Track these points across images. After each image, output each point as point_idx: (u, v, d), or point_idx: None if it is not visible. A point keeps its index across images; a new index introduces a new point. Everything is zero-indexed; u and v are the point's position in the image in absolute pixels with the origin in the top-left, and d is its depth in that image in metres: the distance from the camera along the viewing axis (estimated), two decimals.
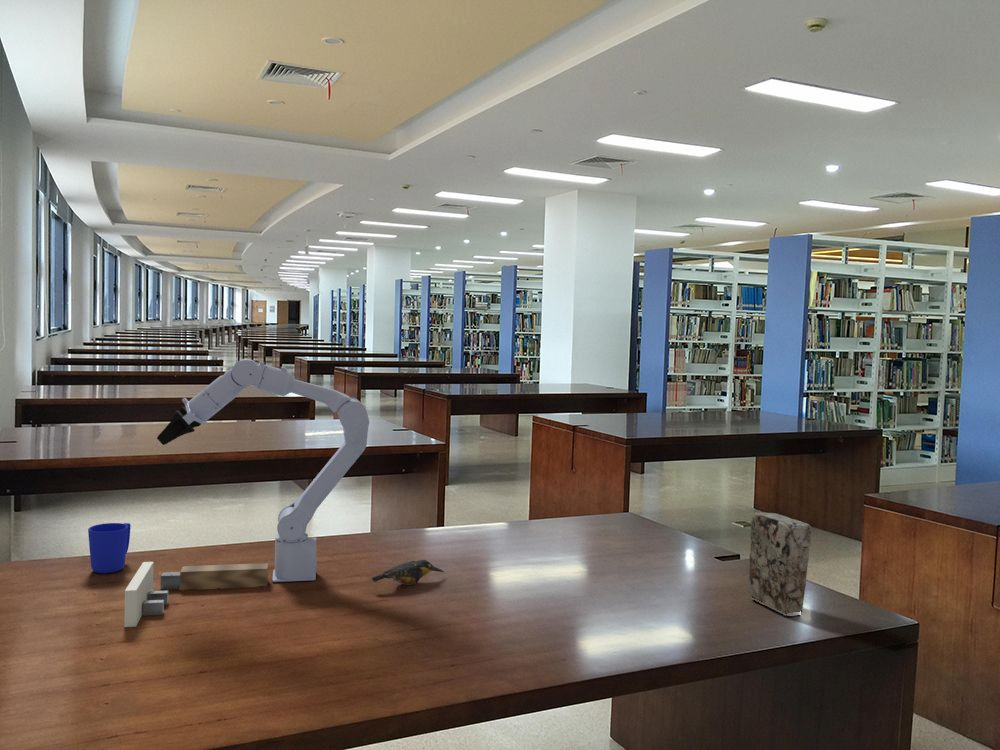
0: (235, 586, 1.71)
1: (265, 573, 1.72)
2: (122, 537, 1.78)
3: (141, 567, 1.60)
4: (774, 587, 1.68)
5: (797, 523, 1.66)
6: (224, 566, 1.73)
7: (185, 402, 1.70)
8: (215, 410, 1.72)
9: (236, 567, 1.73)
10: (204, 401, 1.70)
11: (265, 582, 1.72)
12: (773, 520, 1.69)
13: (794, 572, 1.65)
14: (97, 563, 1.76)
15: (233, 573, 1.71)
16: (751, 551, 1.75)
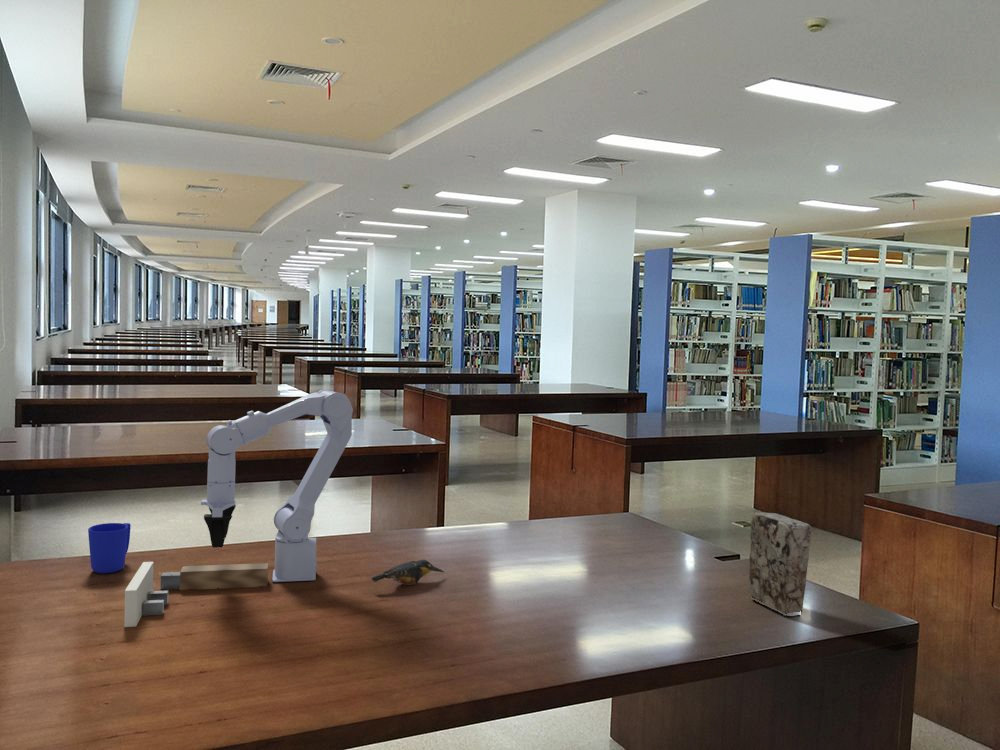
0: (235, 586, 1.71)
1: (265, 573, 1.72)
2: (122, 537, 1.78)
3: (141, 567, 1.60)
4: (774, 587, 1.68)
5: (797, 523, 1.66)
6: (224, 566, 1.73)
7: (205, 503, 1.69)
8: (231, 487, 1.70)
9: (236, 567, 1.73)
10: (216, 490, 1.68)
11: (265, 582, 1.72)
12: (773, 520, 1.69)
13: (794, 572, 1.65)
14: (97, 563, 1.76)
15: (233, 573, 1.71)
16: (751, 551, 1.75)
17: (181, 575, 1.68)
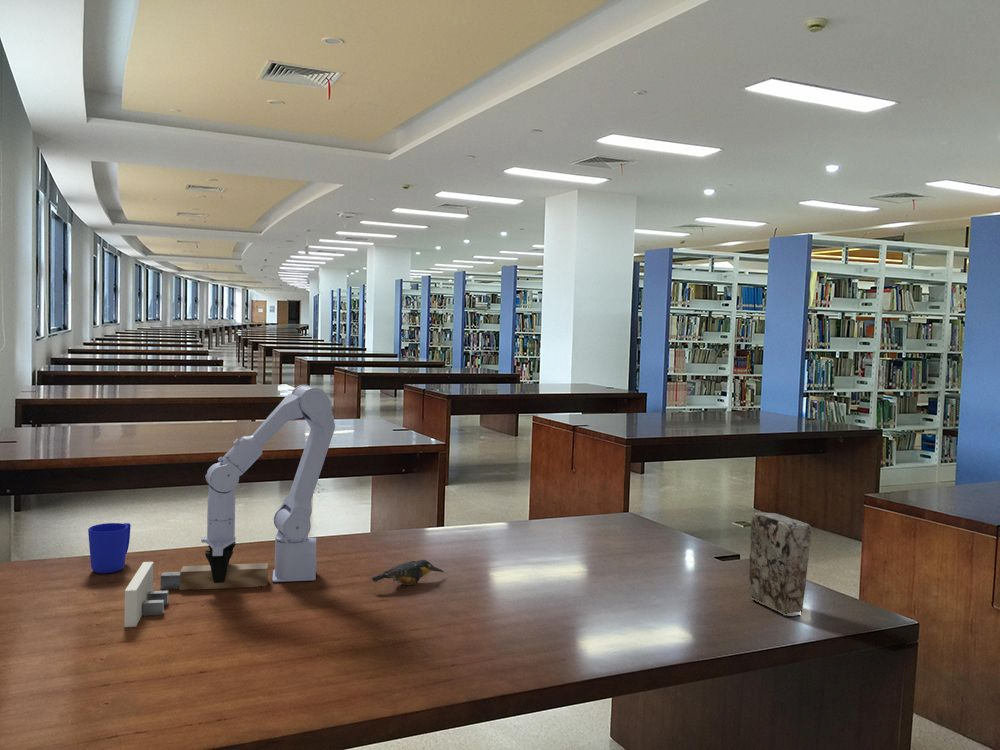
0: (235, 585, 1.71)
1: (265, 573, 1.72)
2: (122, 537, 1.78)
3: (141, 567, 1.60)
4: (774, 587, 1.68)
5: (797, 523, 1.66)
6: None
7: (205, 541, 1.70)
8: (231, 524, 1.70)
9: (236, 566, 1.73)
10: (216, 527, 1.68)
11: (265, 582, 1.72)
12: (773, 520, 1.69)
13: (794, 572, 1.65)
14: (97, 563, 1.76)
15: (233, 572, 1.71)
16: (751, 551, 1.75)
17: (181, 575, 1.68)
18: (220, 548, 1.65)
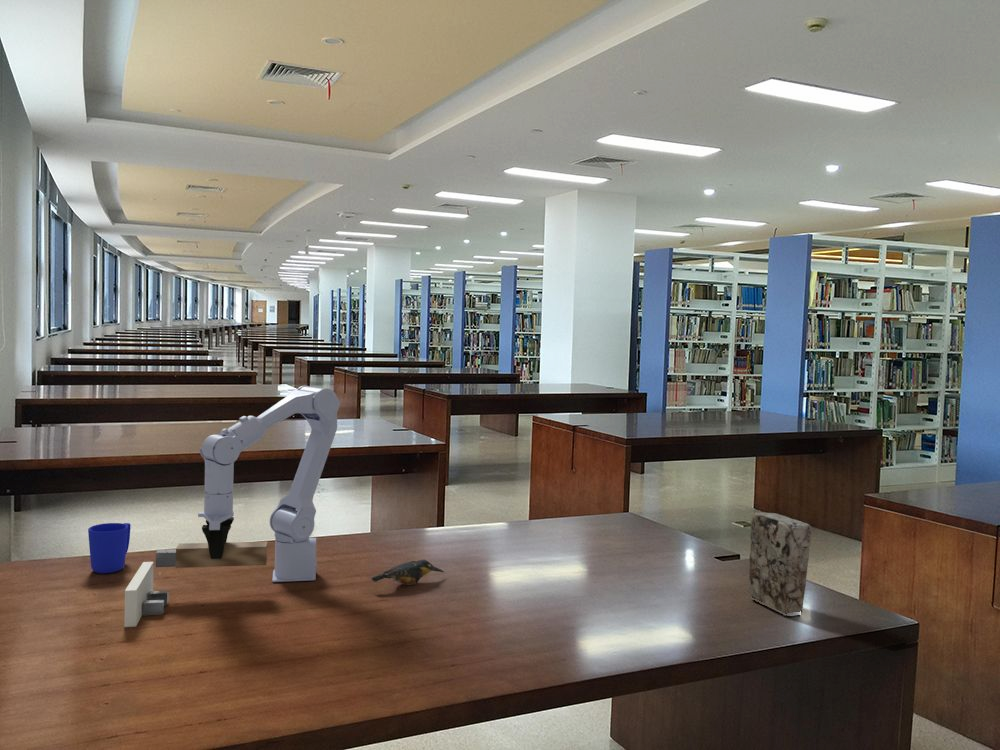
0: (232, 564, 1.65)
1: (263, 551, 1.66)
2: (122, 537, 1.78)
3: (141, 567, 1.60)
4: (774, 587, 1.68)
5: (797, 523, 1.66)
6: None
7: (202, 515, 1.64)
8: (229, 498, 1.64)
9: (234, 544, 1.67)
10: (213, 501, 1.62)
11: (264, 561, 1.66)
12: (773, 520, 1.69)
13: (794, 572, 1.65)
14: (97, 563, 1.76)
15: (231, 550, 1.65)
16: (751, 551, 1.75)
17: (177, 552, 1.62)
18: (217, 522, 1.58)
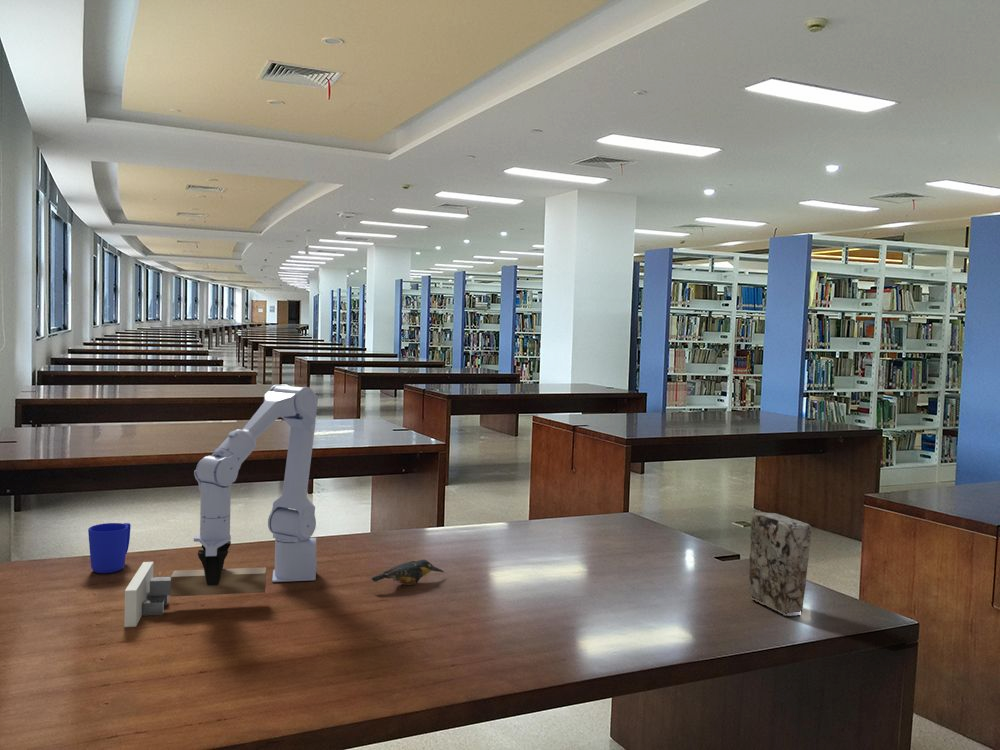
0: (230, 592, 1.58)
1: (262, 578, 1.60)
2: (122, 537, 1.78)
3: (141, 567, 1.60)
4: (774, 587, 1.68)
5: (797, 523, 1.66)
6: None
7: (198, 540, 1.57)
8: (226, 522, 1.57)
9: (231, 571, 1.60)
10: (209, 525, 1.56)
11: (263, 588, 1.60)
12: (773, 520, 1.69)
13: (794, 572, 1.65)
14: (97, 563, 1.76)
15: (228, 578, 1.58)
16: (751, 551, 1.75)
17: (172, 580, 1.55)
18: (214, 548, 1.52)
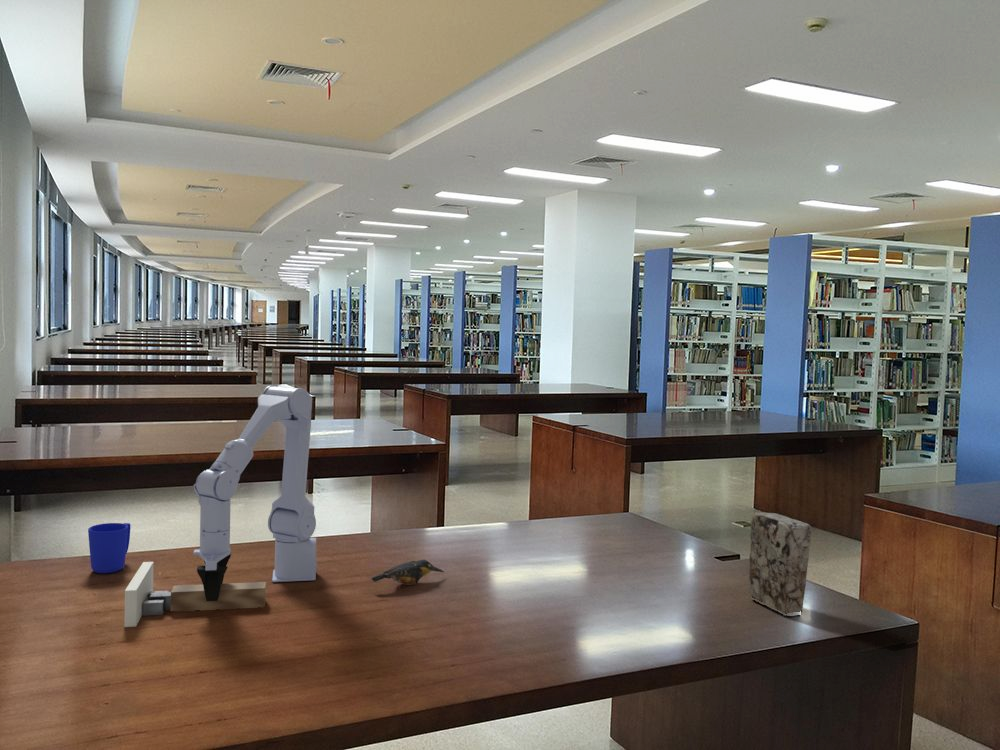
0: (230, 607, 1.58)
1: (262, 593, 1.60)
2: (122, 537, 1.78)
3: (141, 567, 1.60)
4: (774, 587, 1.68)
5: (797, 523, 1.66)
6: None
7: (198, 553, 1.57)
8: (226, 536, 1.58)
9: (231, 586, 1.60)
10: (209, 539, 1.56)
11: (262, 603, 1.60)
12: (773, 520, 1.69)
13: (794, 572, 1.65)
14: (97, 563, 1.76)
15: (228, 593, 1.58)
16: (751, 551, 1.75)
17: (172, 596, 1.55)
18: (214, 562, 1.52)
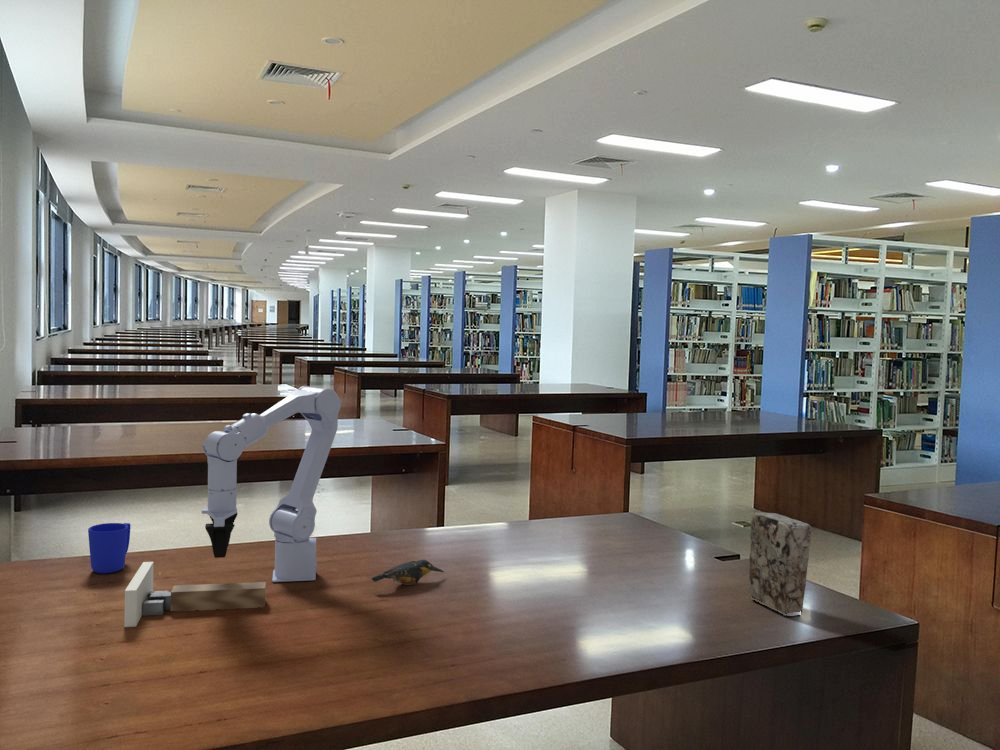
0: (230, 607, 1.58)
1: (262, 593, 1.60)
2: (122, 537, 1.78)
3: (141, 567, 1.60)
4: (774, 587, 1.68)
5: (797, 523, 1.66)
6: (218, 585, 1.60)
7: (206, 512, 1.63)
8: (233, 495, 1.64)
9: (231, 586, 1.60)
10: (217, 498, 1.62)
11: (262, 603, 1.60)
12: (773, 520, 1.69)
13: (794, 572, 1.65)
14: (97, 563, 1.76)
15: (228, 593, 1.58)
16: (751, 551, 1.75)
17: (172, 596, 1.55)
18: (222, 518, 1.58)
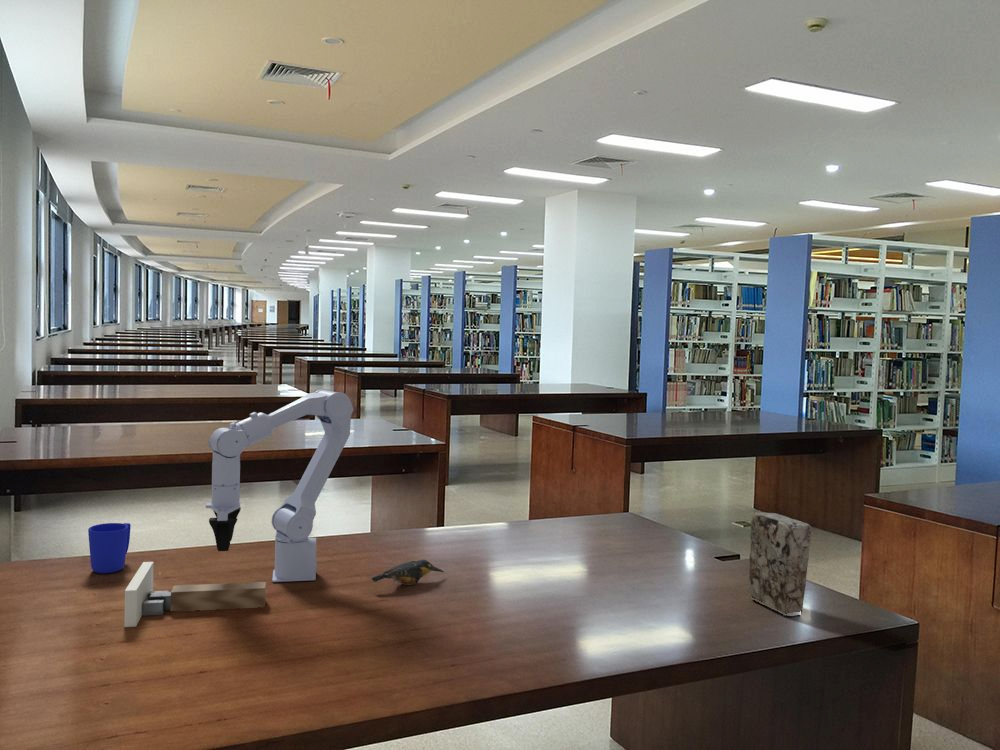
0: (230, 607, 1.58)
1: (262, 593, 1.60)
2: (122, 537, 1.78)
3: (141, 567, 1.60)
4: (774, 587, 1.68)
5: (797, 523, 1.66)
6: (218, 585, 1.60)
7: (209, 506, 1.67)
8: (236, 490, 1.68)
9: (231, 586, 1.60)
10: (220, 493, 1.66)
11: (262, 603, 1.60)
12: (773, 520, 1.69)
13: (794, 572, 1.65)
14: (97, 563, 1.76)
15: (228, 593, 1.58)
16: (751, 551, 1.75)
17: (172, 596, 1.55)
18: (225, 513, 1.62)
